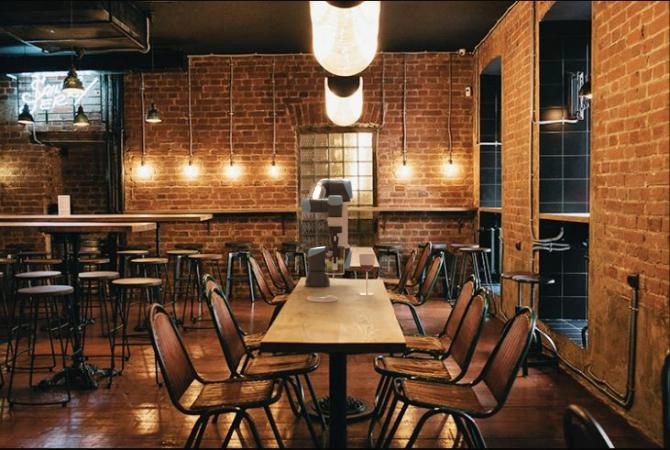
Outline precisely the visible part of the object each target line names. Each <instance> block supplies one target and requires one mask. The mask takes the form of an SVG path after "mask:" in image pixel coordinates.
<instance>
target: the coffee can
mask: <svg viewBox="0 0 670 450" xmlns="http://www.w3.org/2000/svg"><path fill="white" fill-rule="evenodd" d="M324 247H325V274H328V276H329V275H330V276H339V275H340V276H342V275H345V268H344V257H345V247H344V246H337V254H338V256H337V257H338V263H337V270H332V257H331V255H332V254H333V246H332V245H325V246H324Z"/></svg>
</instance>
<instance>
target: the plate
mask: <svg viewBox="0 0 670 450" xmlns="http://www.w3.org/2000/svg"><path fill="white" fill-rule="evenodd" d="M306 301H307V302H311V303H334V302H337V301H338V296H335V295H332V294H331V295H330V294H315V295H314V294H313V295H308V296H307V297H306Z"/></svg>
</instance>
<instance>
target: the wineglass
mask: <svg viewBox="0 0 670 450" xmlns="http://www.w3.org/2000/svg"><path fill="white" fill-rule="evenodd" d="M358 257H359V259H358V260H359V266H360V268H361V269H362V270H363V271H364V272H365V273H366V274H365V275H366V276H365V282H366V283H365V292H360V293H359V295H361V296H373V295H375V293H373V292H369V291H368V290H369V289H368V284H369V282H368V281H369V280H368V279H369V276H368V275H369V273H368V272H370V271H372V270H373V268H374V267H375V261H376V254H373V253H360V254H358Z"/></svg>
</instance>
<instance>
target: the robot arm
mask: <svg viewBox="0 0 670 450" xmlns="http://www.w3.org/2000/svg"><path fill="white" fill-rule="evenodd" d="M352 187H353V186H352V181H351V180H350V179H349V178H348V179H347V178H323V179H319V180H317V181H314V183H313V184H311V186H310V188H309V190H308V191H309V192H308V193H309V194H308V197H307V198H302V199H301V212H302V213H304V214H305V213H306V214H327V218H326V221H327V225H328V226H327V233H328V234H332V235H331V236H330V240H331V246H333V254H332V255H331V257H332V270H337V263H338V257H337V256H338V254H337V246H344V247H345V257H344V269H349V268H350V267H351V263H352V257H353V249H352V248H351V246H350V244H349V242H348V241H349V240H348V236H349V233H348V231H349V229H348V225H349V223H348V219H349V218H348V217H349V216H348V213H349V210H348V209H349V204H350V203H351V200H352V199H353V198H354V197H353V196H354V195H353V188H352ZM307 254H308V255H307V275H306V276H305V280H304V286H306V287H311V288H326V287H330V286H331V281H330V277H329V275H328V274H325V246H318V247H317V246H315V247H311V248H309V250H308V251H307Z"/></svg>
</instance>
